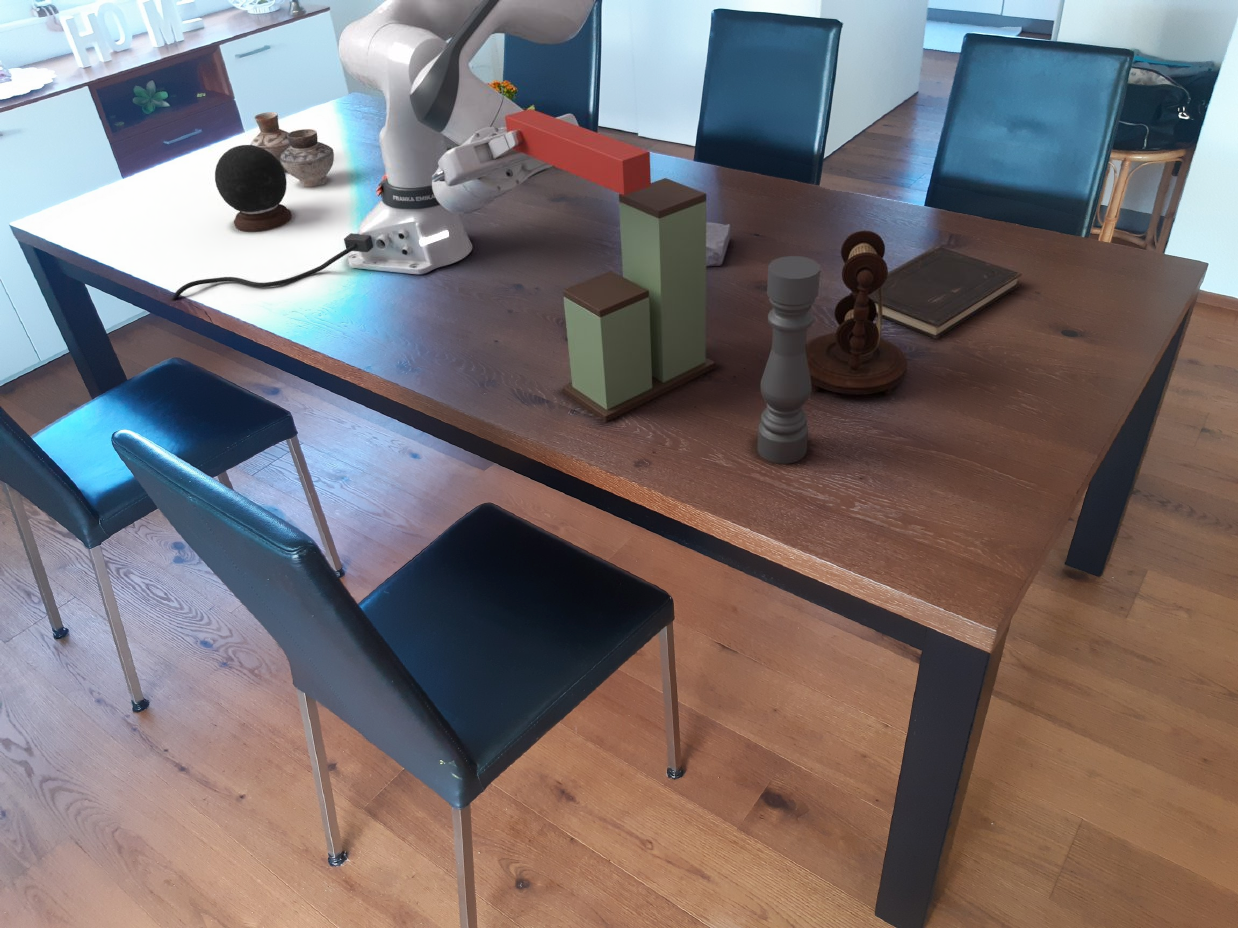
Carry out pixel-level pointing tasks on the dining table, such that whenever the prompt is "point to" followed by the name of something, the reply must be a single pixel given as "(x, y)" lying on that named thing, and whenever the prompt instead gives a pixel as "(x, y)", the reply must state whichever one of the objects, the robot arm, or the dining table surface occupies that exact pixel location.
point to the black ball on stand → (253, 187)
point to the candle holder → (787, 359)
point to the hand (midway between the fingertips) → (535, 131)
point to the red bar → (582, 151)
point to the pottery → (295, 150)
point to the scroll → (858, 328)
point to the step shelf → (643, 306)
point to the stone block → (716, 243)
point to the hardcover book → (941, 290)
